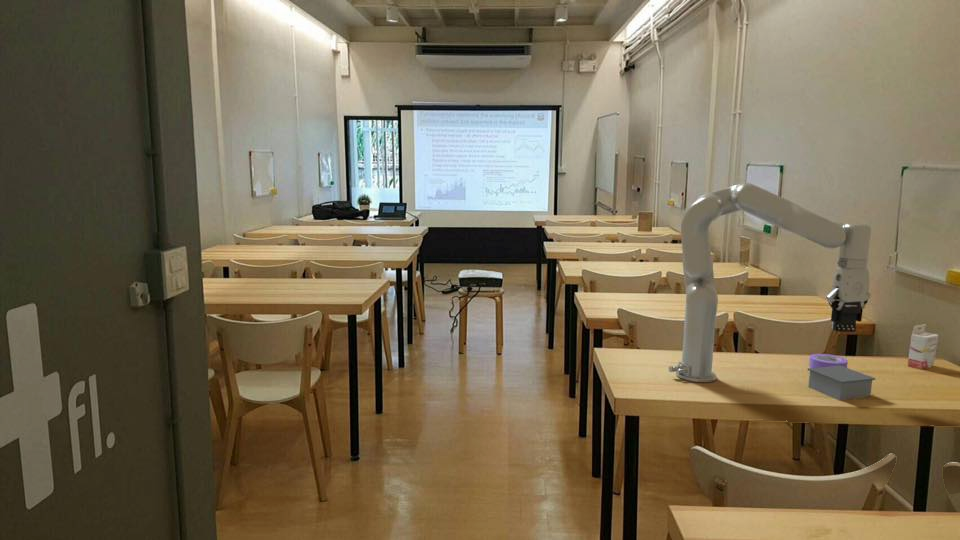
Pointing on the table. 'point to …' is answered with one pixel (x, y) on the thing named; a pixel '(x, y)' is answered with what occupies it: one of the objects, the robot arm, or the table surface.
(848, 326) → the battery charger
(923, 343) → the ink cartridge box
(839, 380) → the stand
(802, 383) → the table surface
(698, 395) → the table surface
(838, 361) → the masking tape
